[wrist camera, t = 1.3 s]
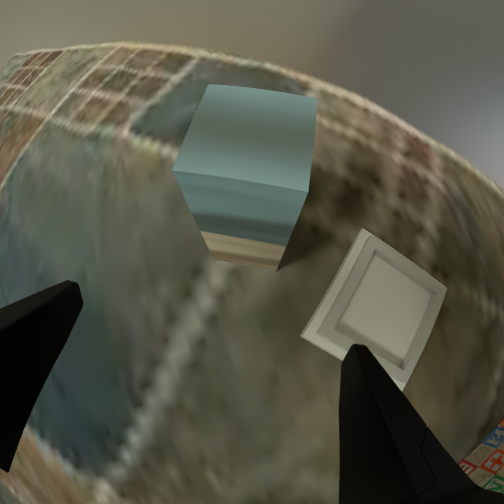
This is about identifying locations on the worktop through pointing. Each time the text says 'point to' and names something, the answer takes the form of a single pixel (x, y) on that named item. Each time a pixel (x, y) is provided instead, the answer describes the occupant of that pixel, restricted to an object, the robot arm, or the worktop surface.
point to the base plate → (377, 307)
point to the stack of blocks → (487, 462)
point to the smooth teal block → (247, 171)
